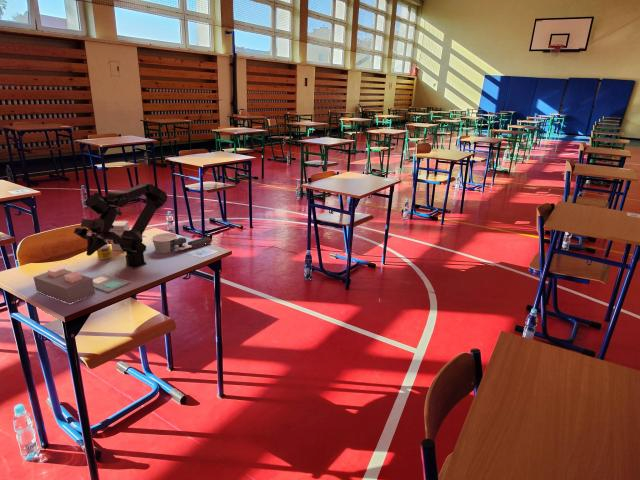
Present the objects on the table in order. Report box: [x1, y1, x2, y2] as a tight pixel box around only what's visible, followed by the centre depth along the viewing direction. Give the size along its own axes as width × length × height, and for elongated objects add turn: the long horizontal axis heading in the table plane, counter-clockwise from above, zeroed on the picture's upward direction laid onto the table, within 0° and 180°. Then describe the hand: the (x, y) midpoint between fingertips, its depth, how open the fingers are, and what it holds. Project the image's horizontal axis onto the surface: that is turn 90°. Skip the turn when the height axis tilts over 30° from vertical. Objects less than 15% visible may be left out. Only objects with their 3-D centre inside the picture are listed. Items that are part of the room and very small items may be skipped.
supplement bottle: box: [96, 241, 113, 263], centre depth 188 cm, size 5×5×10 cm
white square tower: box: [109, 220, 131, 251], centre depth 203 cm, size 7×7×13 cm
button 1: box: [47, 266, 66, 277], centre depth 160 cm, size 4×4×4 cm
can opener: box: [174, 236, 212, 251], centre depth 206 cm, size 19×5×6 cm, turn 139°
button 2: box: [64, 271, 83, 283], centre depth 155 cm, size 4×4×4 cm
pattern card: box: [91, 273, 132, 294], centre depth 167 cm, size 10×16×1 cm, turn 62°
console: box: [33, 269, 96, 303], centre depth 158 cm, size 10×20×6 cm, turn 62°
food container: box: [150, 232, 178, 254], centre depth 202 cm, size 12×12×6 cm
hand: (88, 255), depth 160 cm, fingers closed
